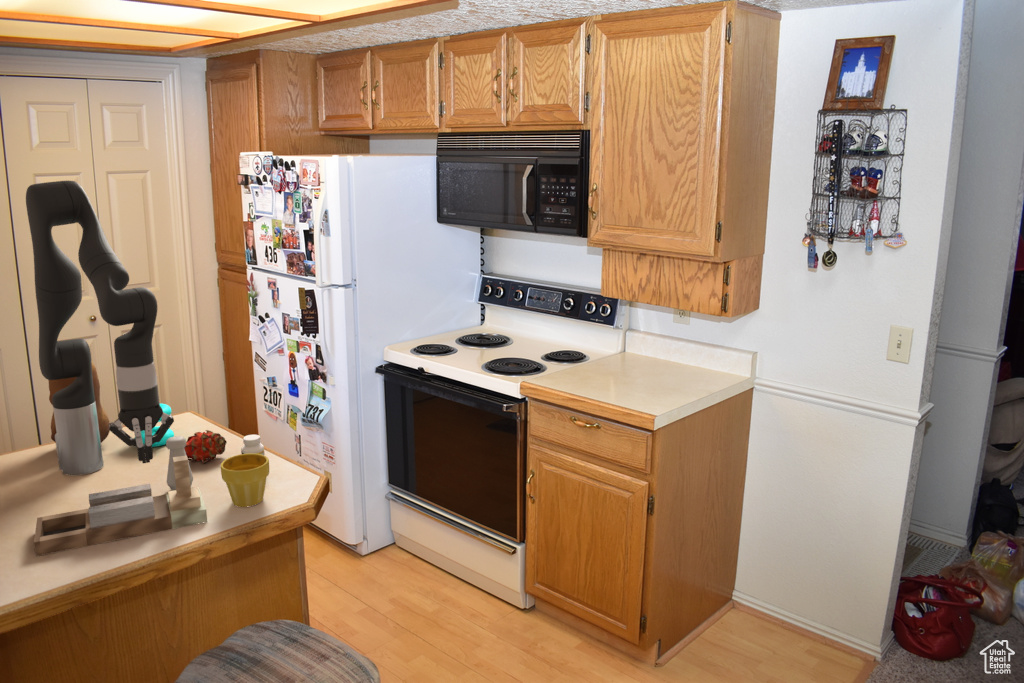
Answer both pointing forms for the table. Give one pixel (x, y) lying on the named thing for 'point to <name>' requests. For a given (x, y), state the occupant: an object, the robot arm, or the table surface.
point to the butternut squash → (101, 414)
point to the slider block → (183, 487)
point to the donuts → (167, 435)
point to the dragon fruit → (204, 446)
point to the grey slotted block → (121, 506)
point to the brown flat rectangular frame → (109, 527)
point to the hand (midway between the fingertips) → (146, 461)
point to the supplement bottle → (252, 445)
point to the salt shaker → (176, 450)
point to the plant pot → (245, 478)
